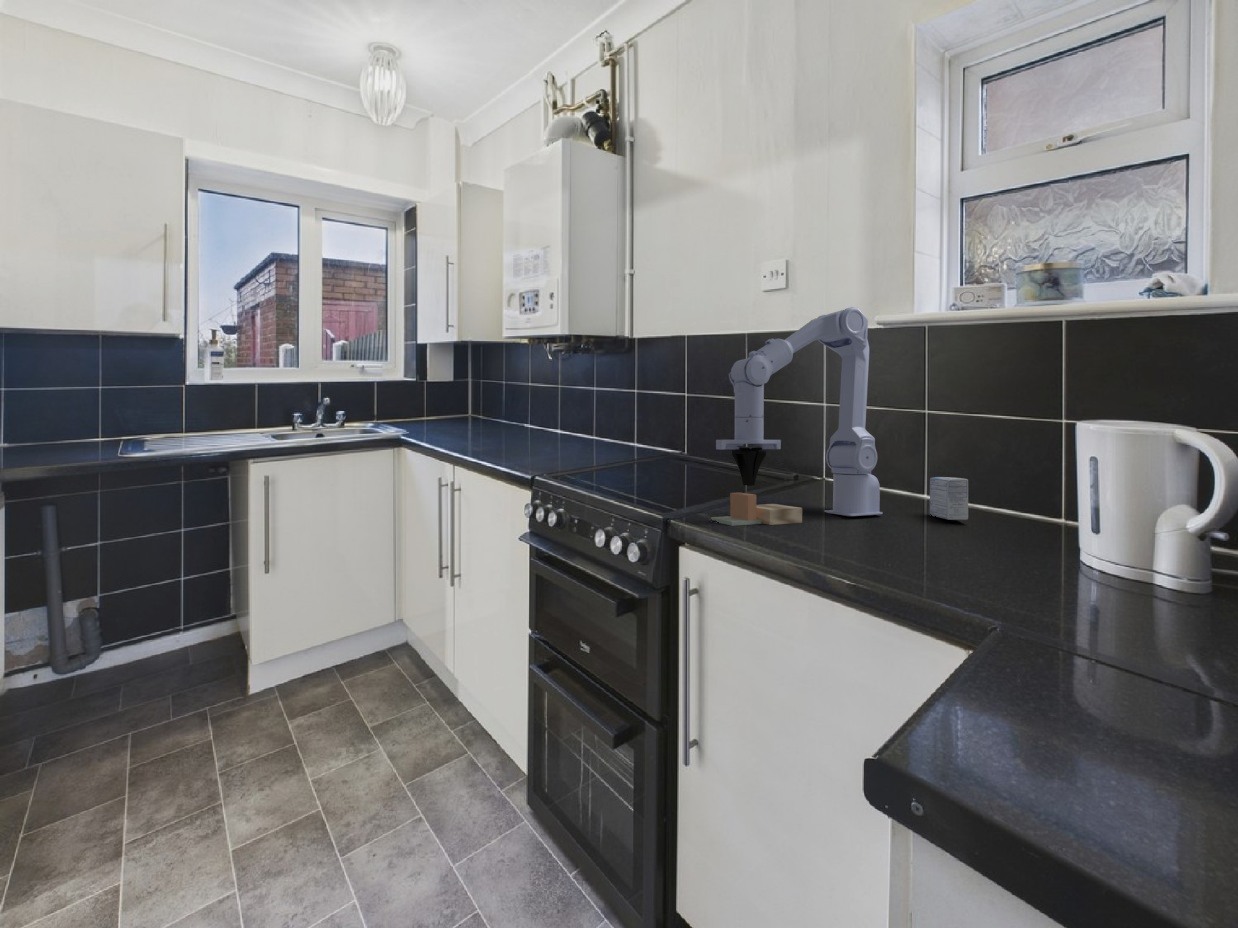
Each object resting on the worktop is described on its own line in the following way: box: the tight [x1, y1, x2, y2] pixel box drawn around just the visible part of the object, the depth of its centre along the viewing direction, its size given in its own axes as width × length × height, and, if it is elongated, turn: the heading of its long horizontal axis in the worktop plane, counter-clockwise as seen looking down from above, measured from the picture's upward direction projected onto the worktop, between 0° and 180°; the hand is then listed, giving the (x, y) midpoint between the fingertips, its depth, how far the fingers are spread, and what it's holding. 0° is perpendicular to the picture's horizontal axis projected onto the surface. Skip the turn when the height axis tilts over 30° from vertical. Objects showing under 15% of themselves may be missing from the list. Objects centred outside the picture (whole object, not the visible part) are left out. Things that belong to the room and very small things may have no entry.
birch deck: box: [756, 503, 803, 526], centre depth 124 cm, size 8×9×3 cm
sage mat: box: [710, 516, 763, 527], centre depth 122 cm, size 7×8×1 cm
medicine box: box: [929, 476, 969, 521], centre depth 131 cm, size 8×4×9 cm, turn 179°
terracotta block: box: [729, 492, 757, 521], centre depth 122 cm, size 5×6×2 cm
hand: (748, 485), depth 122 cm, fingers closed
